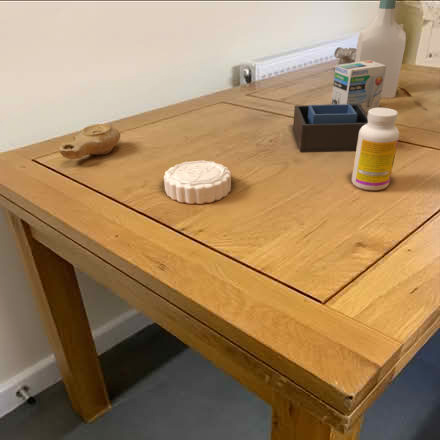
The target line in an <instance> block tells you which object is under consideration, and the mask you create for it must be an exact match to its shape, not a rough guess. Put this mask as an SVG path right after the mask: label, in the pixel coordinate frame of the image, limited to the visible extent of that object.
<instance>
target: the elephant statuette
mask: <svg viewBox="0 0 440 440" xmlns="http://www.w3.org/2000/svg"><path fill="white" fill-rule="evenodd" d="M356 50H357V48H355V47H349V48H347V47H345V48H344V47H343V48H342V47H341V46H340V47H337V48H336V49H335V50H334V54H333V55H334V57H335V58H336V59H338V60H337V62H336V65H339V64H347V63H354V62H355V57H356Z"/></svg>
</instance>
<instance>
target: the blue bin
mask: <svg viewBox="0 0 440 440" xmlns="http://www.w3.org/2000/svg"><path fill="white" fill-rule="evenodd" d="M308 105H309V109H308V120H307V124H335V123H356V119H357V113H356V112H355V110H354V109H353V108H352V106H351V105H350V104H336V105H331V104H308Z"/></svg>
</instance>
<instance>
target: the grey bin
mask: <svg viewBox="0 0 440 440" xmlns="http://www.w3.org/2000/svg"><path fill="white" fill-rule="evenodd" d="M309 105H310V104H308V105H294V109H293V112H294V113H293V124H292V132H293V135H294V138H295V140H296V143H297V147H298V149H299V153H321V152H322V153H324V152H326V153H329V152H331V153H332V152H356V148H357V142H358V135H359V131H360V129H361V127H362V126H364V125H365V124H368V118H367V116H368V113H366V112H365V111H364V109H363V108H362V107H361V105H360V104H350V105H351V106H352V108H353V109H354V110H355V112H356V113H357V119H356V123H335V124H307V120H308V109H309Z"/></svg>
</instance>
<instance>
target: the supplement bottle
mask: <svg viewBox="0 0 440 440" xmlns="http://www.w3.org/2000/svg"><path fill="white" fill-rule="evenodd" d="M367 114H368V116H367V118H368V124H365V125H364V126H362V127H361V129H360V131H359V135H358V142H357V148H356V151H355V155H354V161H353V167H352V173H351V183H352V184H353V185H354V186H355V187H356V188H358V189H361V190H365V191H381V190H384V189H386V188H388V186H389V185H390V181H391V177H392V172H393V168H394V162H395V158H396V153H397V148H398V147H397V146H398V144H399V143H398V142H399V138H400V131H399V129H398V127H397V126H395V123H396V121H397V119H398V111H397V110H395V109H392V108H388V107H379V108H372V109H370V110H369V111H368V113H367Z"/></svg>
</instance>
